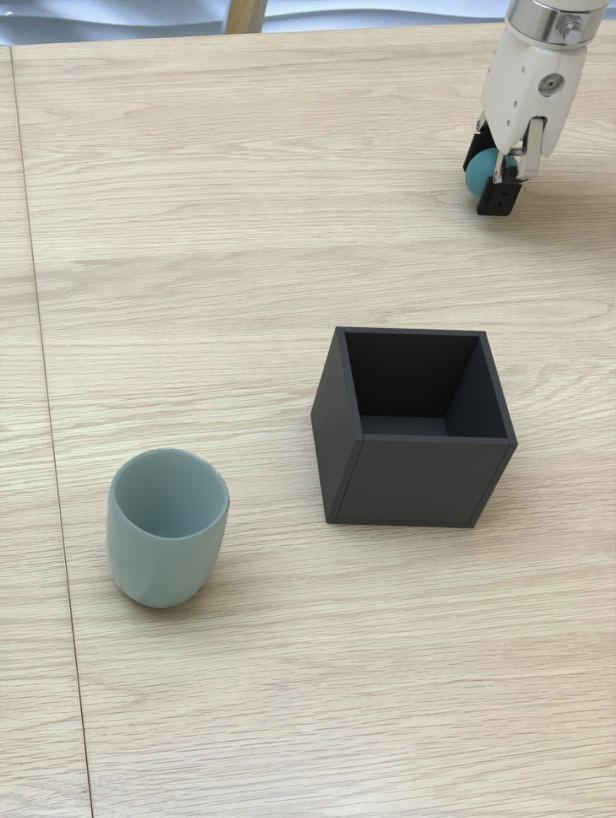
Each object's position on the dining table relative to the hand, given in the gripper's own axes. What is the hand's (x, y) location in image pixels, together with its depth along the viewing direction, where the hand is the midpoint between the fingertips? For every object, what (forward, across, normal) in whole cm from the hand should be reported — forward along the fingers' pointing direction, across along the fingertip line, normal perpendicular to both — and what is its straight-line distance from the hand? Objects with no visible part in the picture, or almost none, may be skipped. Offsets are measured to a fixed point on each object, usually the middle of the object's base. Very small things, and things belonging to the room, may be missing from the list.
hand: (485, 190), depth 106 cm
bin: (+1, -35, +14) cm, 38 cm away
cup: (+1, -46, +33) cm, 57 cm away
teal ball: (-2, 0, 0) cm, 2 cm away
